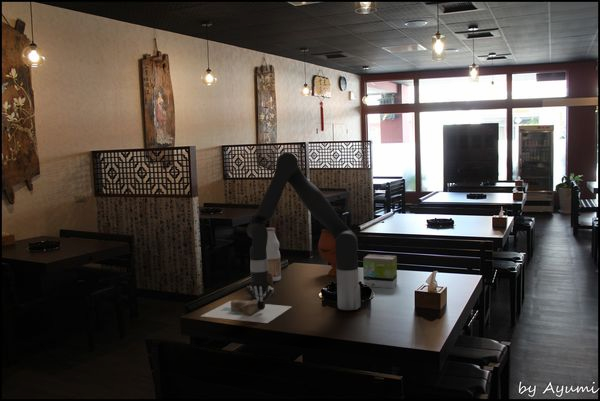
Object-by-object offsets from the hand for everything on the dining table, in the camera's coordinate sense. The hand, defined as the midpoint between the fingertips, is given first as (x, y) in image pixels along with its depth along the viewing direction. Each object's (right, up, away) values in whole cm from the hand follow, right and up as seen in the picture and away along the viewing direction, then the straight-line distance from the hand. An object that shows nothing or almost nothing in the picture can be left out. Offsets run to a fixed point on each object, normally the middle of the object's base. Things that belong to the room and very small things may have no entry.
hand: (261, 309), depth 230 cm
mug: (0, +1, +29) cm, 29 cm away
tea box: (+57, +4, +39) cm, 69 cm away
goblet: (+37, +6, +68) cm, 77 cm away
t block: (-7, -1, +4) cm, 8 cm away
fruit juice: (+2, +4, +61) cm, 61 cm away
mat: (-6, -2, +3) cm, 7 cm away
